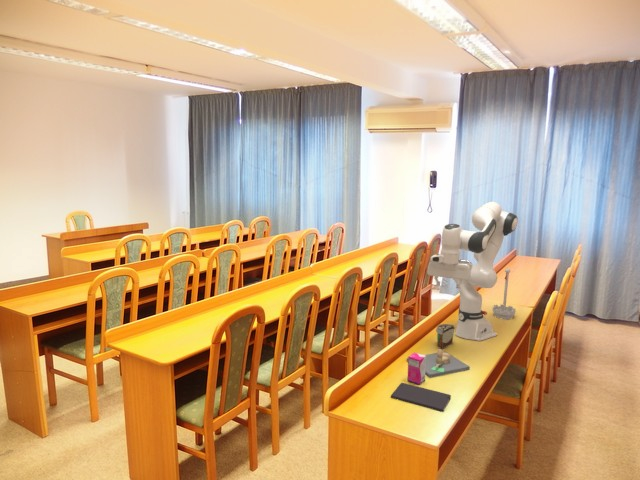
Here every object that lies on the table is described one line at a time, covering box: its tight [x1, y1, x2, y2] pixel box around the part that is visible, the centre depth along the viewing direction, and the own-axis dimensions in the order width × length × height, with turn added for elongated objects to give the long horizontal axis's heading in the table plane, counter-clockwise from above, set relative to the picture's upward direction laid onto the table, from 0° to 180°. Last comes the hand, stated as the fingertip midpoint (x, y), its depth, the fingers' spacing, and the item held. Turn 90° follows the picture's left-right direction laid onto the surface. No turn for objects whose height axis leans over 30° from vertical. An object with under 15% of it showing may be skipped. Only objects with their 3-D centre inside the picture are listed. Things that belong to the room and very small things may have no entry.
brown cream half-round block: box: [435, 323, 456, 350], centre depth 246 cm, size 12×6×10 cm, turn 134°
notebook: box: [390, 382, 452, 413], centre depth 194 cm, size 13×2×21 cm
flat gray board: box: [406, 350, 471, 379], centre depth 222 cm, size 22×19×2 cm
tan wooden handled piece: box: [436, 348, 451, 368], centre depth 219 cm, size 14×6×8 cm, turn 151°
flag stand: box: [492, 267, 517, 320], centre depth 288 cm, size 13×13×30 cm
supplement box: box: [407, 352, 426, 386], centre depth 207 cm, size 6×6×12 cm
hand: (448, 286), depth 230 cm, fingers open, 8 cm apart
